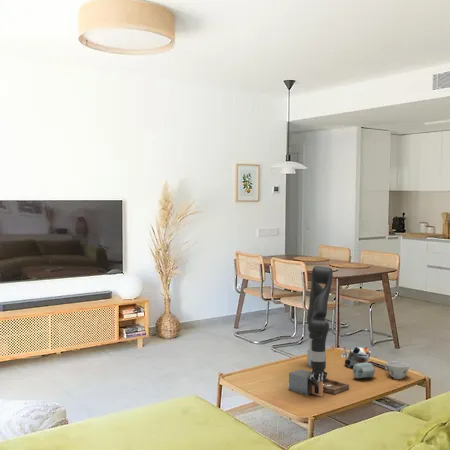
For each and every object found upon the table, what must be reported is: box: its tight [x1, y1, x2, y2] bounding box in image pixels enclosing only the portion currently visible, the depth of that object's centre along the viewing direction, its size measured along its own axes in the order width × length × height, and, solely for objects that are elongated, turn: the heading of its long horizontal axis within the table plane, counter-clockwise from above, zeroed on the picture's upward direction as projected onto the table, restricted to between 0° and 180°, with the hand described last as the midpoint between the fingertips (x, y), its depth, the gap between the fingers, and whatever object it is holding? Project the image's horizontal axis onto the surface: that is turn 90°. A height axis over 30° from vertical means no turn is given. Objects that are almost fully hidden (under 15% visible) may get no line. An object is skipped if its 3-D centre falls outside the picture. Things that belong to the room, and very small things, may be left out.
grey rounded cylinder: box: [352, 362, 376, 379], centre depth 306 cm, size 14×10×10 cm
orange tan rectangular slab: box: [311, 382, 324, 397], centre depth 280 cm, size 10×2×7 cm, turn 43°
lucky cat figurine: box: [344, 346, 372, 369], centre depth 327 cm, size 15×12×14 cm
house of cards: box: [340, 346, 349, 358], centre depth 346 cm, size 9×9×8 cm
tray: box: [323, 377, 350, 396], centre depth 289 cm, size 16×13×3 cm
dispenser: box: [288, 368, 313, 396], centre depth 285 cm, size 12×10×9 cm
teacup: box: [384, 360, 410, 380], centre depth 309 cm, size 15×12×8 cm
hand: (317, 392), depth 278 cm, fingers closed on orange tan rectangular slab
